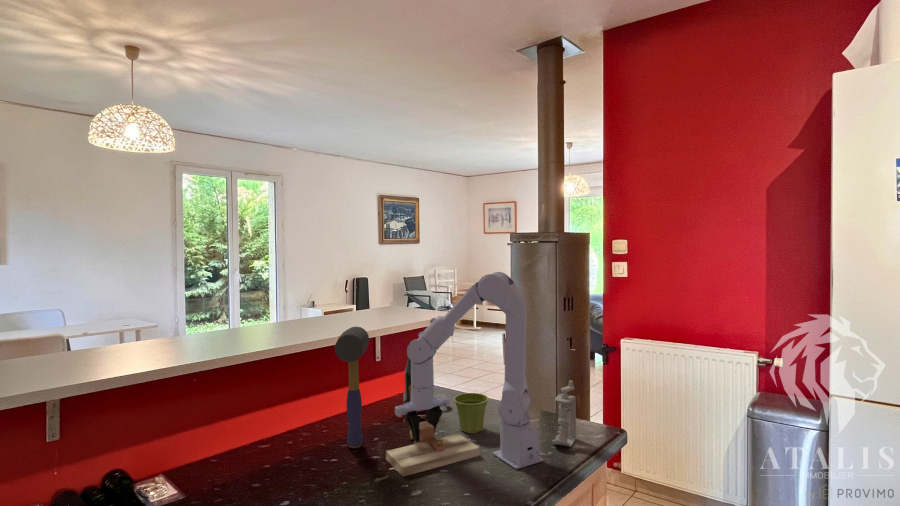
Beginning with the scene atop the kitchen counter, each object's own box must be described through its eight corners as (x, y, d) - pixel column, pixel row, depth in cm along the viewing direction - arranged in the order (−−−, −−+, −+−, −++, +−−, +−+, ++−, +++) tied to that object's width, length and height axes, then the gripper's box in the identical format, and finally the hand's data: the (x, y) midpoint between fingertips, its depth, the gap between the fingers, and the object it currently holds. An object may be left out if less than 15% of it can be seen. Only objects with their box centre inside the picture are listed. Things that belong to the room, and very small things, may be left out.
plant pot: (489, 436, 128) (489, 403, 128) (454, 436, 129) (453, 404, 128) (488, 423, 138) (487, 392, 138) (454, 423, 138) (454, 393, 138)
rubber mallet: (366, 456, 117) (363, 332, 117) (335, 457, 117) (332, 333, 116) (372, 436, 130) (370, 324, 129) (344, 437, 129) (342, 325, 129)
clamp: (550, 449, 120) (549, 388, 119) (560, 435, 128) (559, 378, 128) (567, 452, 118) (566, 390, 117) (576, 437, 126) (575, 380, 126)
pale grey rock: (422, 413, 150) (420, 398, 149) (428, 404, 156) (426, 389, 156) (447, 413, 148) (445, 397, 147) (452, 403, 154) (450, 389, 154)
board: (479, 455, 117) (479, 447, 117) (402, 476, 107) (402, 467, 107) (458, 441, 125) (458, 433, 125) (386, 459, 116) (385, 450, 116)
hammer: (403, 405, 124) (402, 354, 153) (404, 459, 128) (403, 399, 157) (426, 404, 125) (421, 353, 154) (426, 457, 129) (421, 398, 158)
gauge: (448, 458, 116) (447, 436, 116) (434, 461, 114) (434, 439, 114) (426, 441, 126) (426, 421, 126) (414, 444, 124) (413, 423, 124)
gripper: (440, 377, 130) (441, 427, 130) (389, 385, 123) (390, 439, 123) (453, 383, 124) (454, 436, 124) (400, 393, 117) (401, 449, 117)
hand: (423, 438), depth 123 cm, fingers closed on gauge, 4 cm apart
